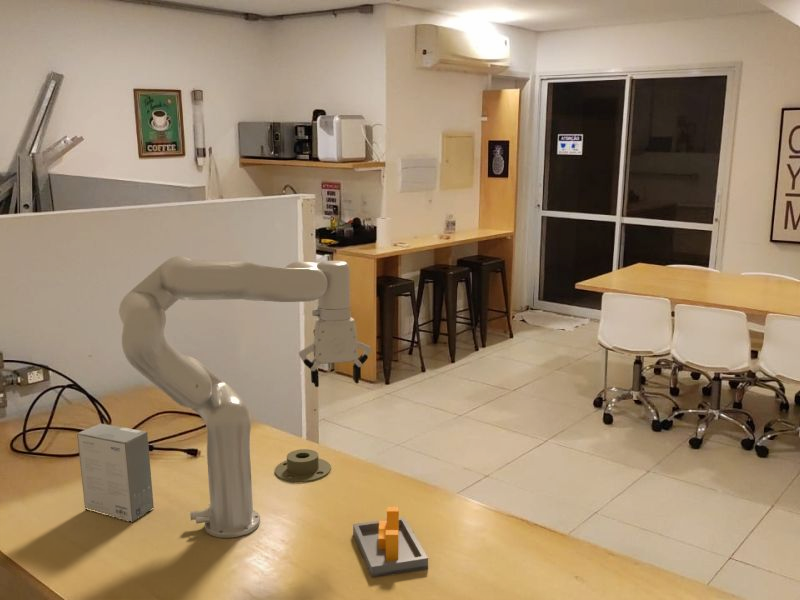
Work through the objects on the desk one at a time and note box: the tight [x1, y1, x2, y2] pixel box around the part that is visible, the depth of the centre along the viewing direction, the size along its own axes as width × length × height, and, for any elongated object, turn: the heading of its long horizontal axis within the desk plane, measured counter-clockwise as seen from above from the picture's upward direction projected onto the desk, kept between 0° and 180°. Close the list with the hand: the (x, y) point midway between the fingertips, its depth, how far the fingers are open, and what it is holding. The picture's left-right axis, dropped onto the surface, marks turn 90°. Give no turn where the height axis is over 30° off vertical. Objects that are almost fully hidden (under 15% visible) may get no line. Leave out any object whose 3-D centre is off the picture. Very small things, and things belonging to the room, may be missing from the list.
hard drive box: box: [76, 423, 155, 523], centre depth 179 cm, size 16×8×20 cm, turn 65°
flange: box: [274, 448, 332, 483], centre depth 202 cm, size 5×15×15 cm
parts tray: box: [352, 516, 429, 579], centre depth 162 cm, size 12×18×2 cm, turn 15°
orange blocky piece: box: [378, 506, 400, 562], centre depth 162 cm, size 12×4×6 cm, turn 179°
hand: (336, 383), depth 179 cm, fingers open, 9 cm apart
